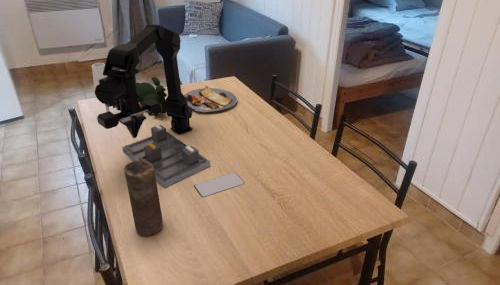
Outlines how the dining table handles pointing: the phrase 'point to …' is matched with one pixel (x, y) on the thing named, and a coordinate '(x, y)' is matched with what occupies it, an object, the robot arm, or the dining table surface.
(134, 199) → the candle
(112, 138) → the dining table surface
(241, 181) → the smartphone
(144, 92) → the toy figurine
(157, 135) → the block
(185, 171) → the panel
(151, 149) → the breaker mid
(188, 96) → the food plate
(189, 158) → the breaker
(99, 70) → the champagne flute
